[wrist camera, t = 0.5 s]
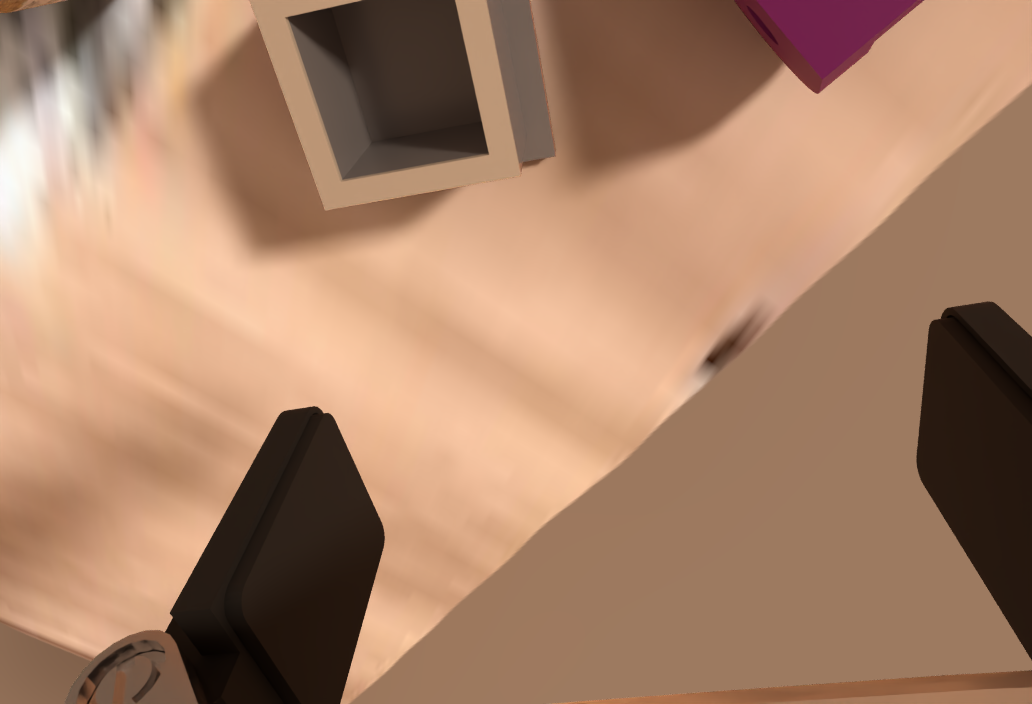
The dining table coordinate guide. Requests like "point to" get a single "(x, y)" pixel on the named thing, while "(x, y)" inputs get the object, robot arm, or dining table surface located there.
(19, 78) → the dining table surface
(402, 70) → the well
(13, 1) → the sprinkles bottle
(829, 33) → the mounting bracket
